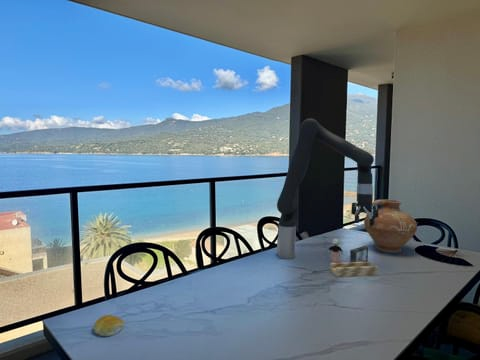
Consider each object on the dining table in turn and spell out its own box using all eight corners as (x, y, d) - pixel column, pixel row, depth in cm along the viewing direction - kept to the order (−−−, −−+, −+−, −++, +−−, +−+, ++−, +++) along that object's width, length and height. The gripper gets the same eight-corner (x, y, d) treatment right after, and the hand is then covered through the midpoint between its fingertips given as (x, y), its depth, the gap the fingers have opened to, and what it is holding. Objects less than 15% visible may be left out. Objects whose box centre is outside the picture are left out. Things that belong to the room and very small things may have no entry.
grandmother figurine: (341, 262, 166) (342, 238, 165) (343, 264, 162) (344, 240, 161) (326, 261, 167) (327, 237, 166) (327, 264, 163) (328, 239, 162)
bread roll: (110, 320, 107) (110, 308, 107) (128, 328, 102) (127, 316, 102) (87, 331, 100) (87, 319, 100) (104, 340, 95) (104, 327, 95)
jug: (426, 258, 173) (429, 203, 171) (373, 257, 174) (376, 203, 171) (400, 243, 202) (403, 196, 199) (355, 243, 202) (357, 196, 199)
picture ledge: (337, 276, 146) (337, 268, 146) (329, 270, 154) (330, 262, 153) (378, 275, 148) (378, 267, 148) (368, 269, 156) (369, 261, 156)
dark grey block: (354, 266, 159) (354, 251, 159) (349, 265, 162) (350, 249, 161) (367, 262, 167) (368, 247, 166) (363, 260, 169) (363, 245, 168)
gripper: (348, 191, 164) (347, 223, 165) (372, 194, 152) (371, 228, 153) (357, 190, 168) (357, 221, 169) (382, 193, 156) (381, 226, 157)
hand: (364, 224), depth 161 cm, fingers open, 8 cm apart
